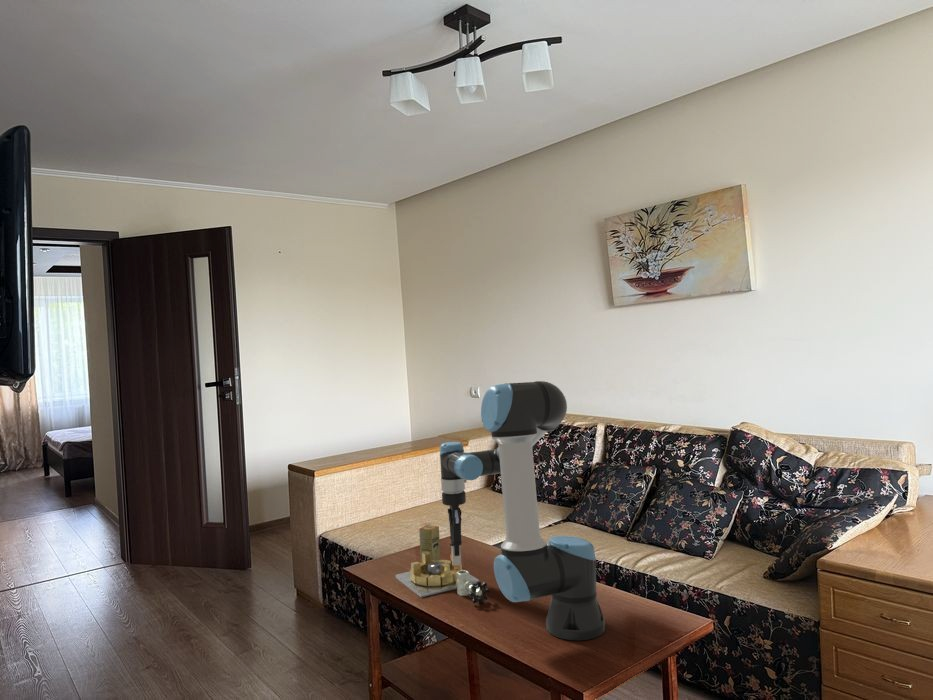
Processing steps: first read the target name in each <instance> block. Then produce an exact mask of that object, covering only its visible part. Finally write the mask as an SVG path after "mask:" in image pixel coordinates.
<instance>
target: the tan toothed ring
mask: <svg viewBox="0 0 933 700" xmlns="http://www.w3.org/2000/svg"><path fill="white" fill-rule="evenodd" d="M449 556H450V560H448V559H440V560H432V561H431V553H429V552H428V551H427V552H422V562H421V561H420V562H419V561H415V562H414V561H413V562H410V570H409V572H410V580H411V581H412V582H414V583H415V584H419V585H424V586H441V585H446V584H450V583H454V582H456V581H457V575H456V573H457V572H458V571H460V570H463V567H462V566H463V565H462V564H461V565H457V566H453V565H452V553H450V555H449ZM433 562H441V563H443V564H441V575H426V574H422V573H424V572H427V571H428V564H430V563H433ZM450 571H451V572H450Z"/></svg>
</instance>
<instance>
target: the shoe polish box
mask: <svg viewBox="0 0 933 700" xmlns="http://www.w3.org/2000/svg"><path fill="white" fill-rule="evenodd" d="M418 532H419V548H420V549H419V550H420V551H419V552H420V563H421V562H422V552H427V551H428V552H429V553H431V561H432V560H441V545H440V543H441V541H440V540H441V539H440V527H439V526H438V525H429V524H428V525H424V526H422V527H420V528H419V531H418Z"/></svg>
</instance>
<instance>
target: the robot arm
mask: <svg viewBox="0 0 933 700" xmlns="http://www.w3.org/2000/svg"><path fill="white" fill-rule="evenodd" d="M567 403H568V402H567V399H566V396H565V395H564V393H563V392H562V391H561V389H560V388H559V387H558V386H556V385H555V384H554V383H551V382H548V381H544V380H540V381H539V380H536V381H526V382H509V383H507V382H505V383H502V384H495V385H491V386H490V387H488V389H487V390H486V391H485V393H484V395H483V398H482V401H481V406H480V407H481V408H480V418H481V422H482V426H483V427H484V429H485V430H486V431H488V432H490V433H491V439H492V440H493V441H495V442H496V444H498V445H497V447H496V448H495V449H488V450H482V451H473V452H471V451H470V452H465V449H464V444H463V442H460V441H447V442H446V441H445V442H442V443H441V444H440V447H439V460H440V462H439V463H440V476H441V477H440V481H441V482H440V483H441V491H442V492H441V500H442V501H441V504H442V505H445V506H448V507H449V508H447V513H448V523H449V535H450V537H449V538H450V543H449V545H450V547H451V554H452V565H453V566H457V565H462V547H461V545H462V509H461V507H460V506H461V505H464V504H466V500H467V498H466V491H465V489H466V483H467V481H475V480H477V479H478V478H480V477H485V476H489V475H490V476H491V475H498V474H500V481H501V492H502V504H503V515H504V517H503V518H504V529H505V540H504V541H503V542H502V543H501V545H500V549H501V550H500V551H501V554H499V555H497V556H496V557H495V558H494V562H493V573H494V577H495V581H496V583H497V586H498V588H499V590H500V592H501V593H502V594H503V597H505V598H506V599H507V600H509V602H512V603H521V602H529V601H531V600H535V599H539V598H544V597H547V596H551V599H550V603H549V606H548V612H547V614H546V618H545V626H546V627H545V628H546V631H548V632H549V634H551V635H552V636H554V637H557V638H559V639H562V640H567V641H588V640H592V639H596V638H598V637H599V636H601V635H603V634H604V632H605V631H606V622H605V621H606V620H605V617H604V614H603V611H602V609H601V606H600V604H599V601H598V595H597V593H598V592H597V573H596V572H597V569H596V561H597V559H596V553H595V546H594V545H593V543H592V542H591V541H589V540H587V539H585V538H582V537H578V536H572V535H570V536H569V535H555V536H551V537H550V538H549V539H548V540H549V541H548V543H547V541H546V540H545V539H544V538H543V537H541V532H540V531H541V530H540V520H539V508H538V499H537V496H538V495H537V487H536V475H535V463H534V452H533V450H534V449H533V447H534V446H535V445H536V444H537V442H539V440H540V439H542V438H543V437H544V436H545V434H546V433H547V432H552V431H554V430H555V429H557V427H558V426H559V425H561V424H562V422H563V420H564V419H565V417H566V415H567V409H568V404H567Z"/></svg>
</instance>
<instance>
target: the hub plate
mask: <svg viewBox="0 0 933 700" xmlns="http://www.w3.org/2000/svg"><path fill="white" fill-rule="evenodd" d="M441 564H443V563H441V562H433V563H430V564H428V571H427V572H424V573H422V574H426V575H441ZM450 572H451V571H450ZM395 579H396V580H398V581H399V582H401V583H402V584H403V585H404V586H406V587H407V588H408V589H409V590H411V591H412V592H413V593H414V594H416V595H417V596H419V597H420V598H425V597H428V596H433V595H437V594H441V593H444V592H448V591H452V590H453V591H454V590H457V585H456V582H454V583H450V584H446V585H441V586H424V585H419V584H415V583H414V582H412V581H411V580H410V571H406V572H402V573H397V574H395ZM469 580H470V581H471V582H472V583H473V585H477V583H476V582H477V581H480V579H478V578H477V577H475V576H473V575H471V574H470V573H469Z"/></svg>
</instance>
